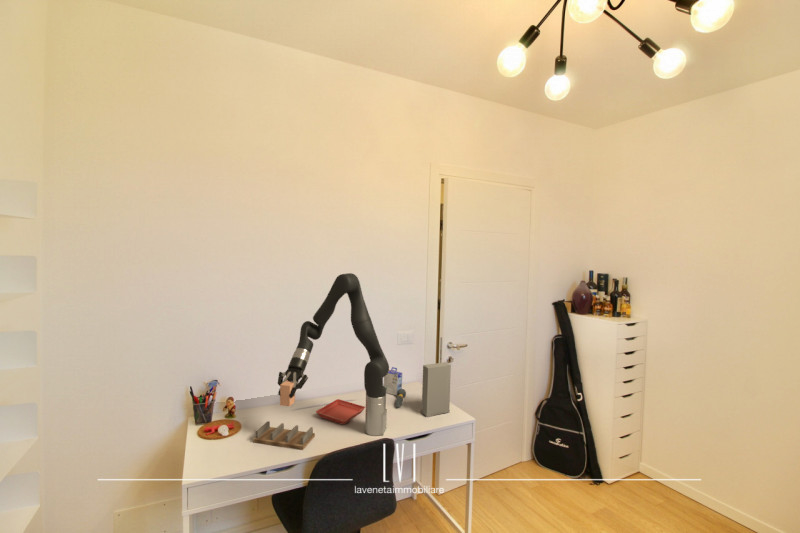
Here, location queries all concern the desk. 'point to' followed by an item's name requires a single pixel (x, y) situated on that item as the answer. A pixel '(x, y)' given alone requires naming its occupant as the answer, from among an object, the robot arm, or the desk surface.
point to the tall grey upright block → (436, 389)
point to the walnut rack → (283, 436)
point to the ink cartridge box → (393, 381)
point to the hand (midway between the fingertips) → (285, 396)
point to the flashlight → (400, 397)
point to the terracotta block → (286, 394)
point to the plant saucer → (340, 411)
